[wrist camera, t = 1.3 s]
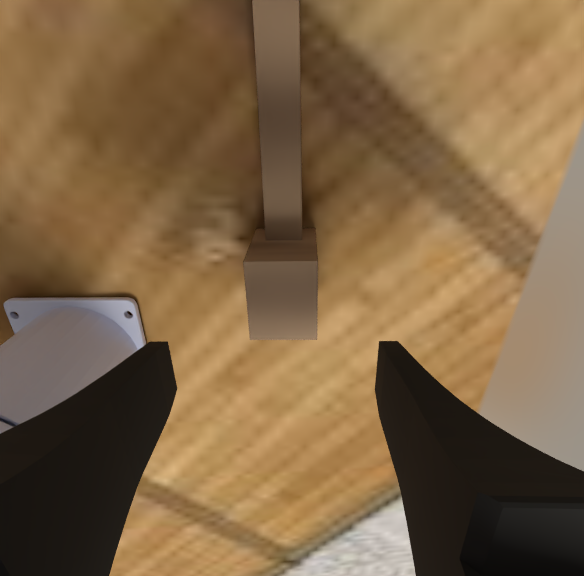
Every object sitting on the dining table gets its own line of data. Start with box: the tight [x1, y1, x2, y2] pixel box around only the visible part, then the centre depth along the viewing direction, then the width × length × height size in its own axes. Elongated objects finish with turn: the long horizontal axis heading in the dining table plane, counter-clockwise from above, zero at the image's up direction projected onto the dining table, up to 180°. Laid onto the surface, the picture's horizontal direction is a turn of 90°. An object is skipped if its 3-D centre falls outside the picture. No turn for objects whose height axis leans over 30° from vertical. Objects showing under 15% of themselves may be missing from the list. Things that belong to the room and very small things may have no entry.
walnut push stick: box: [243, 0, 318, 340], centre depth 17 cm, size 16×5×5 cm, turn 1°
